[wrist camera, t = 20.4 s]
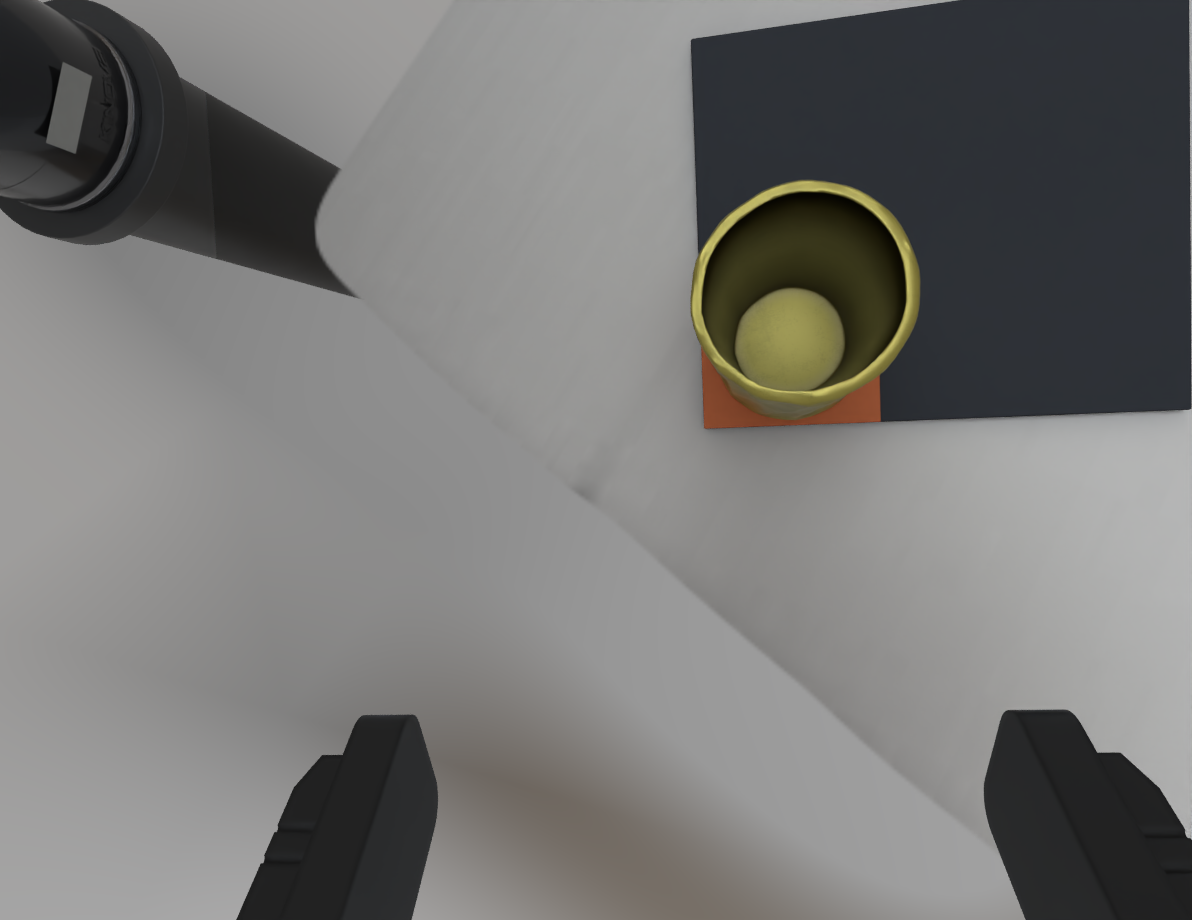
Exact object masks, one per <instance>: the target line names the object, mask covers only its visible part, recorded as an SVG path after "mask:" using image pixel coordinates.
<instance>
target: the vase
mask: <svg viewBox="0 0 1192 920" xmlns="http://www.w3.org/2000/svg"><path fill="white" fill-rule="evenodd" d="M919 305H920V270H919V266H918V263H917V259H916V256H915V253H914V251H913V248H912V246H911V244H910V241H909V239H908V237H907V235H906V233H905V231H904V230H903V228H902V226H901V225H900V223H899V222H898V220H897V219H896V218H895V217H894V215H893V214H892V213H891V212H890V211H889V210H888V209H887V208H885V207H884V206H883V205H882V204H881V203H879V202H878V201H877V200H875V199H874V198H872V197H871V196H869V195H867V194H866V193H864V192H862V191H860V190H858V189H855V188H853V187H850V186H847V185H842V184H837V183H832V182H826V181H818V180H797V181H792V182H787V183H784V184H780V185H777V186H774V187H771V188H769V189H766V190H764V191H762V192H760V193H758V194H757V195H755V196H754V197H752V198H751V199H749V200H748V201H746V202H745V203H743V204H742V205H740V206H739V207H737V208H736V209H735V210H733V211H732V212H730V213H729V214H728V215H727V216H726V217H725V218H724V219H723V220H722V221H721V222H720V223H719V224H718V226H717V227H716V228H715V230H714V231H713V233H712V234H711V236H710V237H709V238H708V240H707V241H706V243H705V244H704V246H703V248H702V250H701V251H700V253H699V255H698V258H697V260H696V263H695V267H694V272H693V280H692V290H691V317H692V321H693V326H694V329H695V332H696V335H697V338H698V340H699V342H700V344H701V347H702V349H703V351H704V352H705V354H706V356H707V357H708V359H709V360H710V362H711V363H712V365H713V366H714V367H715V369H716V370H717V373H719V375H720V377H721V379H722V380H723V382H724V384H725V386H726V388H727V389H728V391H729V393H730V395H731V396H733V397H734V398H735V399H736V400H737V401H738V402H740V403H741V404H742V405H744V406H745V407H747V408H748V409H750V410H751V411H753V412H755V413H757V414H760V415H762V416H766V417H770V418H775V419H781V420H799V419H803V418H807V417H811V416H814V415H816V414H819V413H821V412H823V411H825V410H828V409H830V408H832V407H833V406H835V405H836V404H837V403H838V402H840V401H841V400H842V399H843V398H844V397H845V396H846V395H847V394H849V393H851V392H853V391H855V390H857V389H859V388H861V387H862V386H864V385H865V384H867V383H869V382H870V381H872V380H874V379H875V378H876V377H877V376H879V375H880V374H881V373H882V372H884V371H885V370H886V369H887V368H888V367H889V365H890V364H891V363H892V362H893V361H894V359H895V358H896V356H897V355H898V353H899V352H900V350H901V349H902V348H903V346H904V344H905V343H906V341H907V339H908V338H909V336H910V334H911V332H912V330H913V328H914V326H915V323H916V320H917V317H918V311H919Z"/></svg>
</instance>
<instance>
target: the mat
mask: <svg viewBox="0 0 1192 920" xmlns="http://www.w3.org/2000/svg"><path fill="white" fill-rule="evenodd" d="M691 56H692V84H693V112H694V140H695V168H696V196H697V225H698V253H700V251H701V250H702V248H703V246H704V244H705V243H706V241H707V240H708V238H709V237H710V236H711V234H712V233H713V231H714V230H715V228H716V227H717V226H718V224H719V223H720V222H721V221H722V220H723V219H724V218H725V217H726V216H727V215H728V214H729V213H730V212H732V211H733V210H735V209H736V208H737V207H739V206H740V205H742V204H743V203H745V202H746V201H748V200H749V199H751V198H752V197H754V196H755V195H757V194H758V193H760V192H762V191H764V190H766V189H769V188H771V187H774V186H777V185H780V184H784V183H787V182H792V181H797V180H818V181H826V182H832V183H837V184H842V185H847V186H850V187H853V188H855V189H858V190H860V191H862V192H864V193H866V194H867V195H869V196H871V197H872V198H874V199H875V200H877V201H878V202H879V203H881V204H882V205H883V206H884V207H885V208H887V209H888V210H889V211H890V212H891V213H892V214H893V215H894V217H895V218H896V219H897V220H898V222H899V223H900V225H901V226H902V228H903V230H904V231H905V233H906V235H907V237H908V239H909V241H910V244H911V246H912V248H913V251H914V253H915V256H916V259H917V263H918V266H919V270H920V305H919V311H918V317H917V320H916V323H915V326H914V328H913V330H912V332H911V334H910V336H909V338H908V339H907V341H906V343H905V344H904V346H903V348H902V349H901V350H900V352H899V353H898V355H897V356H896V358H895V359H894V361H893V362H892V363H891V364H890V365H889V367H888V368H887V369H886V370H885V371H884V372H882V373H881V374H880V375H879V376H877V377H876V378H875V379H874V380H872V381H870V382H869V383H867V384H865V385H864V386H862V387H861V388H859V389H857V390H855V391H853V392H851V393H849V394H847V395H846V396H845V397H844V398H843V399H842V400H841V401H840V402H838V403H837V404H836V405H835V406H833V407H832V408H830V409H828V410H825V411H823V412H821V413H819V414H816V415H814V416H811V417H807V418H803V419H799V420H781V419H775V418H770V417H766V416H762V415H760V414H757V413H755V412H753V411H751V410H750V409H748V408H747V407H745V406H744V405H742V404H741V403H740V402H738V401H737V400H736V399H735V398H734V397H733V396H731V395H730V393H729V391H728V389H727V388H726V386H725V384H724V382H723V380H722V379H721V377H720V375H719V373H717V370H716V369H715V367H714V366H713V365H712V363H711V362H710V360H709V359H708V357H707V356H706V354H705V352H704V351H703V349H702V347H701V351H702V379H703V407H704V428H705V429H708V428H733V427H759V426H785V425H810V424H836V423H862V422H885V421H911V420H936V419H962V418H987V417H1013V416H1039V415H1064V414H1090V413H1116V412H1141V411H1167V410H1189V409H1191V241H1190V73H1189V0H958V1H952V2H945V3H938V4H931V5H924V6H917V7H910V8H903V9H896V10H889V11H883V12H876V13H869V14H862V15H855V16H848V17H841V18H834V19H827V20H820V21H814V22H807V23H800V24H793V25H786V26H779V27H772V28H765V29H758V30H751V31H745V32H738V33H731V34H724V35H717V36H710V37H703V38H696V39H692V40H691Z"/></svg>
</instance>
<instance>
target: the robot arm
mask: <svg viewBox="0 0 1192 920" xmlns="http://www.w3.org/2000/svg"><path fill="white" fill-rule="evenodd" d="M140 127H141V104H140V96H139V91H138V87H137V83H136V80H135V77H134V75H133V72H132V70H131V68H130V66H129V64H128V62H127V60H126V59H125V57H124V55H123V54H122V53H121V51H120V50H119V49H118V48H117V47H116V46H115V45H114V43H113V42H111V41H110V40H109V39H108V38H107V37H105V36H104V35H102V34H101V33H100V32H98V31H96V30H94V29H92V28H91V27H89V26H87V25H85V24H83V23H81V22H79V21H76V20H74V19H70V18H69V17H67V16H65V15H63V14H62V13H60V12H58V11H56V10H54V9H53V8H51V7H49V6H47V5H46V4H44V3H42V2H40V1H38V0H0V196H2V197H6V198H9V199H13V200H17V201H19V202H21V203H23V204H25V205H28V206H31V207H34V208H38V209H41V210H45V211H49V212H56V213H67V212H74V211H78V210H82V209H85V208H87V207H89V206H91V205H93V204H95V203H97V202H98V201H100V200H101V199H103V198H104V197H105V196H106V195H107V194H109V193H110V192H111V191H112V190H113V189H114V188H115V186H116V185H117V184H118V183H119V182H120V180H121V179H122V177H123V176H124V174H125V173H126V171H127V169H128V167H129V165H130V163H131V161H132V159H133V156H134V154H135V150H136V147H137V144H138V139H139V134H140ZM984 803H985V810H986V815H987V819H988V823H989V827H990V829H991V832H992V835H993V838H994V840H995V843H996V845H997V848H998V850H999V853H1000V855H1001V858H1002V861H1003V863H1004V866H1005V868H1006V871H1007V873H1008V876H1009V878H1010V881H1011V884H1012V886H1013V889H1014V891H1015V894H1016V896H1017V899H1018V901H1019V904H1020V907H1021V909H1022V911H1023V914H1024V917H1025V919H1026V920H1192V840H1191V838H1187V837H1186V835H1185V829H1184V827H1183V825H1182V824H1181V822H1180V821H1179V819H1178V817H1177V816H1176V814H1175V813H1174V811H1173V809H1172V808H1171V806H1170V804H1169V803H1168V801H1167V800H1166V798H1165V796H1164V795H1163V793H1162V791H1161V790H1160V788H1159V787H1158V786H1157V785H1155V784H1154V783H1153V782H1152V781H1151V780H1150V779H1149V778H1148V777H1147V776H1146V775H1144V774H1143V773H1142V772H1141V771H1140V770H1139V769H1138V768H1137V767H1136V766H1134V765H1133V764H1132V763H1131V762H1130V761H1129V760H1128V759H1127V758H1126V757H1125V756H1123V755H1122V754H1121V753H1097V751H1096V750H1095V748H1094V746H1093V744H1092V743H1091V741H1090V739H1089V737H1088V735H1087V734H1086V732H1085V730H1084V728H1083V727H1082V725H1081V723H1080V722H1079V720H1078V719H1077V717H1076V716H1075V715H1074V714H1073V713H1072V712H1070V711H1068V710H1007V711H1005V712H1004V713H1003V715H1002V717H1001V720H1000V724H999V728H998V732H997V735H996V739H995V743H994V747H993V751H992V754H991V758H990V762H989V766H988V770H987V773H986V777H985V782H984ZM437 808H438V791H437V782H436V778H435V775H434V771H433V768H432V764H431V761H430V758H429V755H428V751H427V748H426V744H425V741H424V737H423V734H422V731H421V728H420V724H419V722H418V719H417V717H416V716H415V715H363V716H361V717H360V718H359V719H358V720H357V722H356V724H355V726H354V728H353V730H352V733H351V735H350V738H349V740H348V743H347V745H346V748H345V751H344V753H343V755H322V756H321V757H320V758H319V759H318V761H317V762H316V763H315V764H314V765H313V766H312V767H311V769H310V770H309V771H308V772H307V773H306V774H305V776H304V777H303V778H302V779H301V780H300V781H299V782H298V783H297V785H296V786H295V787H294V789H293V791H292V793H291V796H290V798H289V800H288V802H287V805H286V807H285V809H284V812H283V814H282V816H281V819H280V821H279V823H278V830H277V832H275V833H274V835H273V837H272V839H271V841H270V844H269V846H268V848H267V851H266V853H265V855H264V856H265V860H264V863H263V864H260V867H259V869H258V871H257V874H256V876H255V878H254V881H253V883H252V885H251V887H250V890H249V892H248V894H247V896H246V899H245V901H244V903H243V906H242V908H241V910H240V913H239V915H238V917H237V919H236V920H411V919H412V916H413V911H414V907H415V904H416V900H417V896H418V892H419V888H420V884H421V879H422V875H423V872H424V868H425V864H426V860H427V856H428V852H429V848H430V844H431V840H432V836H433V832H434V828H435V823H436V818H437Z"/></svg>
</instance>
